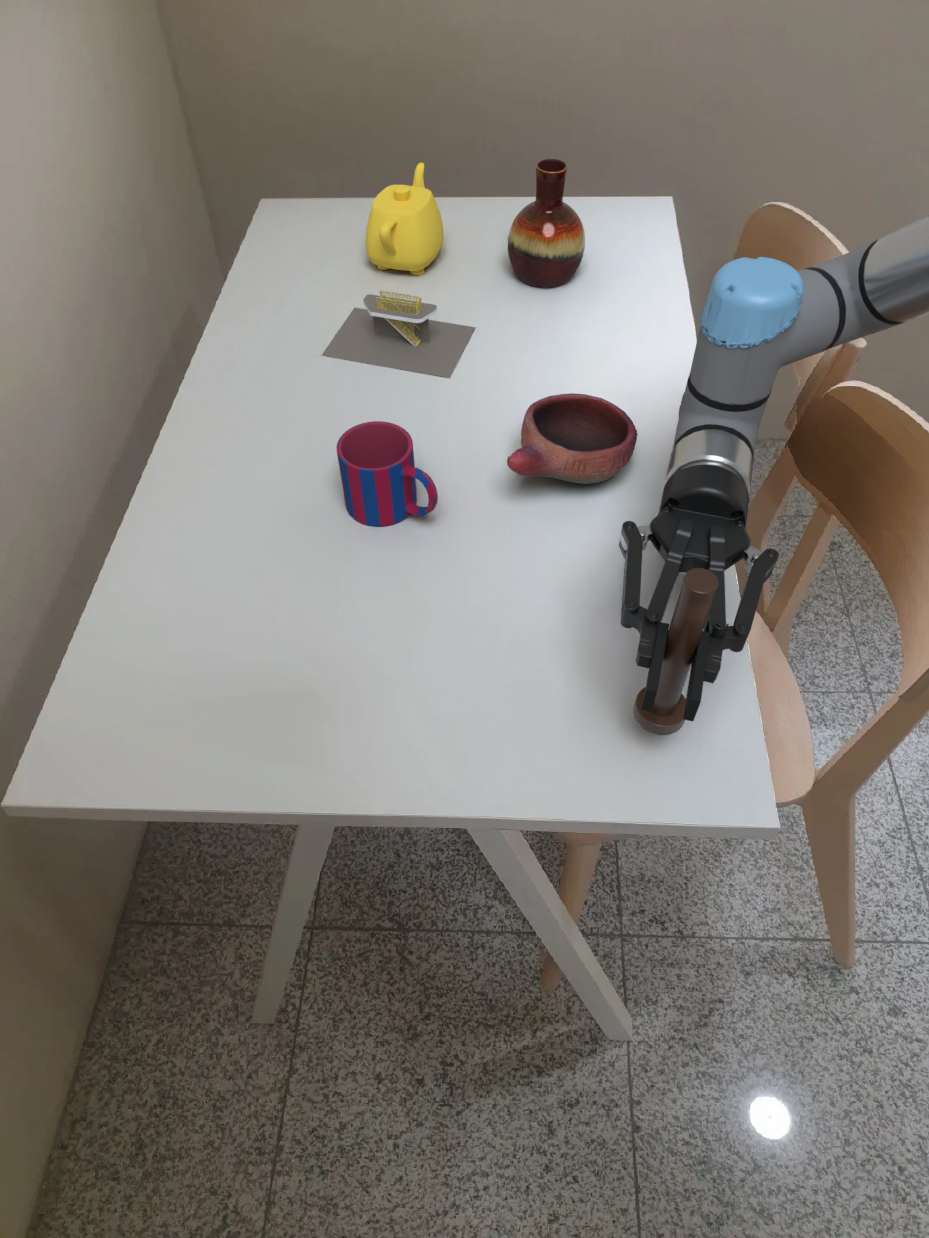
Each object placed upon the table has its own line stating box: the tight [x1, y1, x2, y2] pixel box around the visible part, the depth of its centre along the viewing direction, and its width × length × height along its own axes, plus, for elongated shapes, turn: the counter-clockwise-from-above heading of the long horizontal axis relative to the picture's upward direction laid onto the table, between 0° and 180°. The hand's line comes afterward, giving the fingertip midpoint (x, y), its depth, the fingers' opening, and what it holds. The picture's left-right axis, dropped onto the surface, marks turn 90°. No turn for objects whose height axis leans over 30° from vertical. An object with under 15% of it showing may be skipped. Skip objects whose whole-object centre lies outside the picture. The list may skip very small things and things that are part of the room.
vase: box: [507, 158, 586, 288], centre depth 118 cm, size 11×11×15 cm
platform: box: [321, 289, 477, 379], centre depth 111 cm, size 12×18×7 cm, turn 73°
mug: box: [336, 420, 439, 527], centre depth 91 cm, size 8×12×8 cm, turn 46°
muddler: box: [633, 568, 718, 737], centre depth 65 cm, size 4×4×18 cm
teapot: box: [365, 162, 445, 276], centre depth 123 cm, size 18×11×11 cm, turn 164°
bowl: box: [506, 392, 638, 485], centre depth 94 cm, size 16×13×8 cm
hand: (670, 705), depth 61 cm, fingers closed on muddler, 2 cm apart
